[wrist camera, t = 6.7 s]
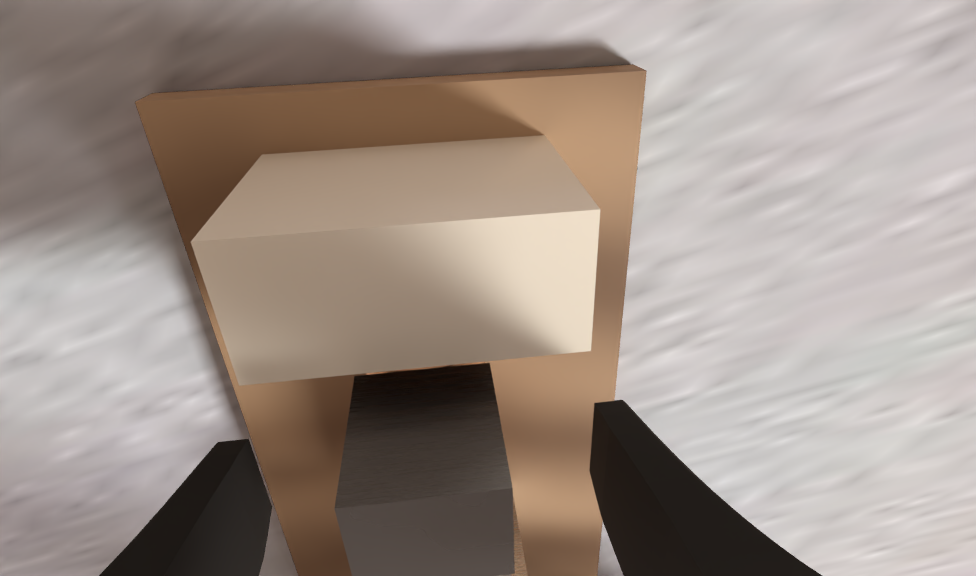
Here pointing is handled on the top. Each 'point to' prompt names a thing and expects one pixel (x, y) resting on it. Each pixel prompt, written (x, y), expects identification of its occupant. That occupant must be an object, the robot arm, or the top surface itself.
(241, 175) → the walnut board
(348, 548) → the brown piece
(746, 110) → the top surface
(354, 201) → the cream rectangular block
